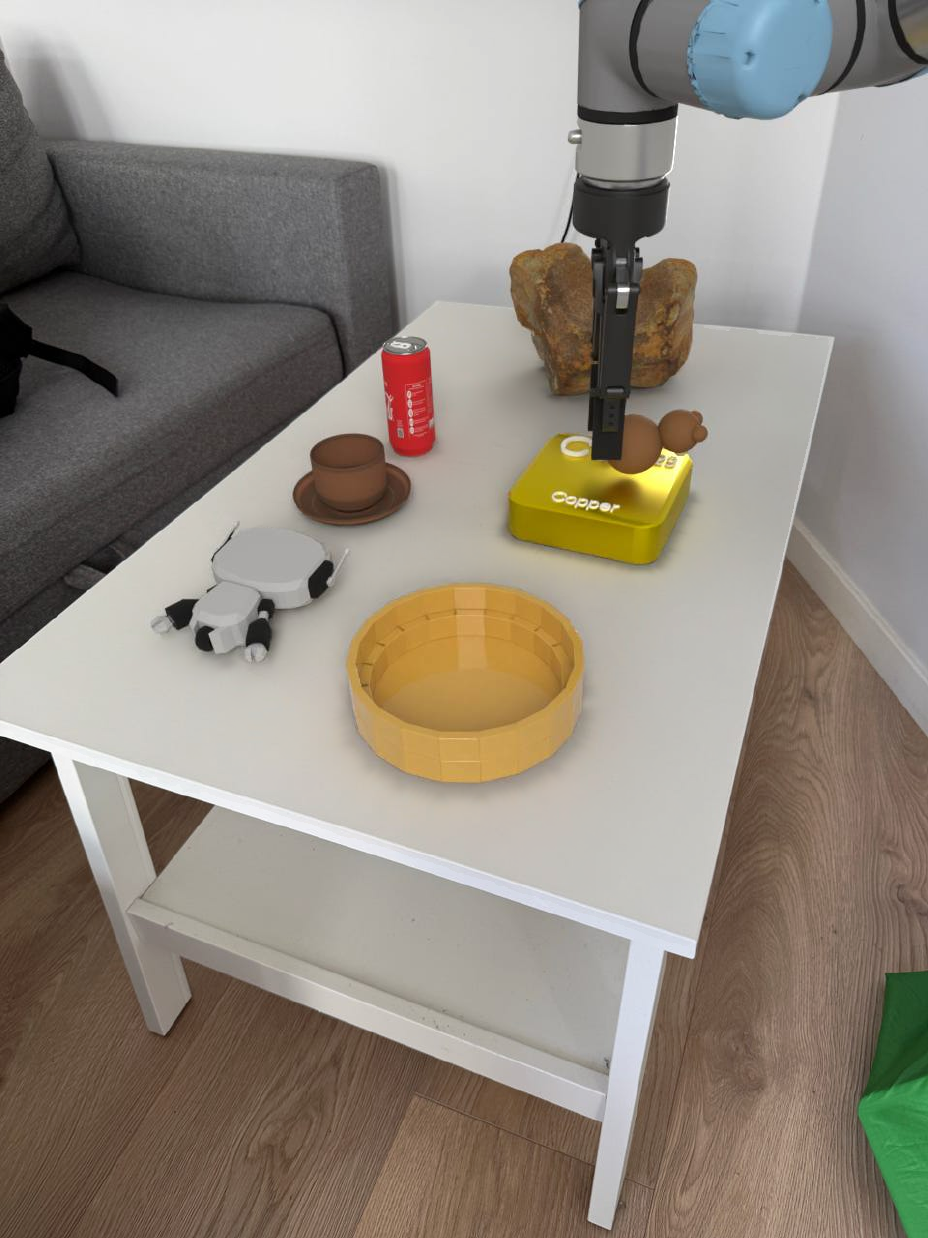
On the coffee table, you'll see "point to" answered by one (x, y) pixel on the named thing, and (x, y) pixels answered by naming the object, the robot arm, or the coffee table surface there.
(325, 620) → the coffee table surface
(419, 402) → the beverage can
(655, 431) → the plush bear
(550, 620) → the ochre bowl
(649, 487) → the element tile
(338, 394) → the coffee table surface
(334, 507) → the cup and saucer
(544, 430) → the coffee table surface
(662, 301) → the rough brown rock
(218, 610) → the robot toy
